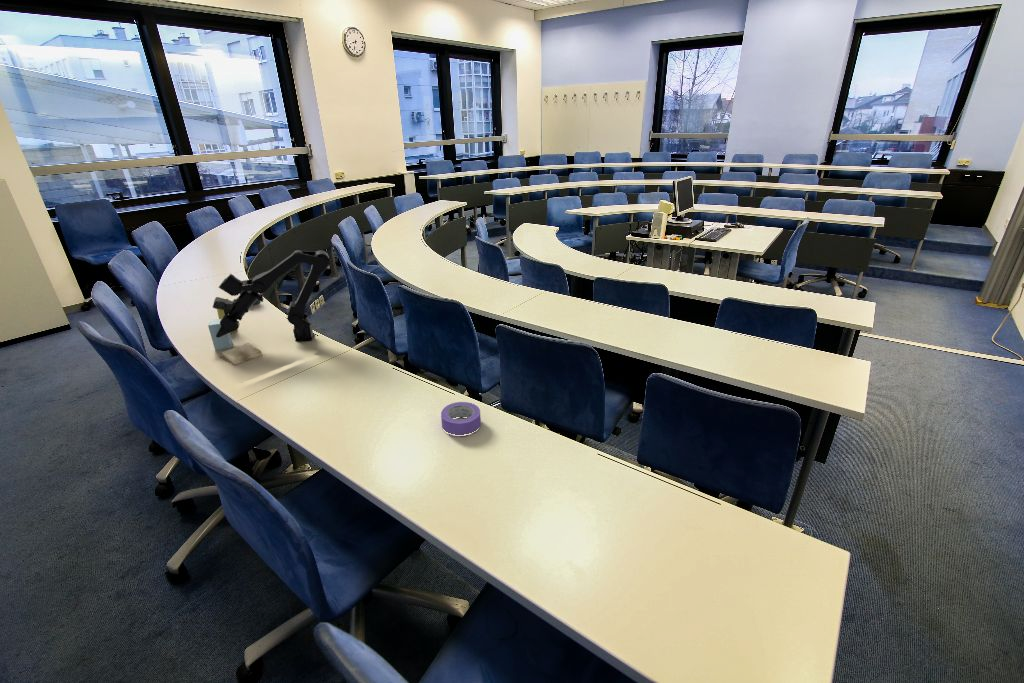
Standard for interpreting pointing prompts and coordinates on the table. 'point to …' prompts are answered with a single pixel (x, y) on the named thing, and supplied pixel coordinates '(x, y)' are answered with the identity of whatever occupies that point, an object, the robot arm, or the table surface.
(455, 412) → the tape roll
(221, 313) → the vase
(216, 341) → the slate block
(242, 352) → the birch slab
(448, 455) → the table surface
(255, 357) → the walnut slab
